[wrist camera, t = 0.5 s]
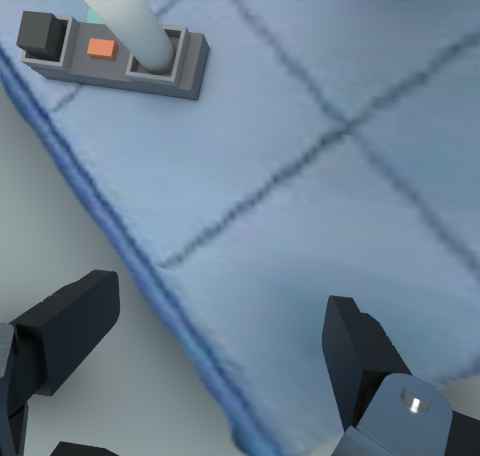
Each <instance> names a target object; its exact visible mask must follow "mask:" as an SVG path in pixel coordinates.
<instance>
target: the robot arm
mask: <svg viewBox="0 0 480 456" xmlns="http://www.w3.org/2000/svg"><path fill="white" fill-rule="evenodd" d="M119 313H120V298H119V281H118V275H117V273H116V272H114V271H105V270H93V271H91V272H90V273H89V274H87V275H86V276H84V277H83V278H81V279H80V280H78V281H76V282H74V283H71V284H69V285H66V286H64V287H62V288H61V289H59V290H58V291H56V292H55V293H53V294H52V296H49V297H47V298H46V299H44V300H43V302H40V303H38V304H37V305H35V306H34V307H32V308H31V309H29V310H28V311H26V312H25V313H23V314H22V315H21V316H19V317H17V318H16V319H14V320H13V321H11V322H10V323H8V324H7V323H0V456H23V455H24V447H25V437H26V429H27V420H28V412H29V406H28V399H29V398H30V397H31V396H32V395H33V394H38V395H45V396H52V395H53V394H54V393H55V392H56V391H57V390H58V389H59V387H60V386H61V385H62V384H63V383H64V382H65V381H66V379H67V378H68V377H69V376H70V375H71V374H72V373H73V371H74V370H75V369H76V368H77V367H78V366H79V365H80V363H81V362H82V361H83V360H84V359H85V358H86V357H87V356H88V354H89V353H90V352H91V351H92V350H93V349H94V348H95V346H96V345H97V344H98V343H99V342H100V341H101V340H102V338H103V337H104V336H105V335H106V334H107V333H108V332H109V331H110V329H111V328H112V327H113V326H114V325H115V323H116V322H117V320H118V317H119ZM322 349H323V353H324V357H325V361H326V365H327V368H328V372H329V376H330V380H331V384H332V387H333V391H334V395H335V399H336V402H337V406H338V410H339V414H340V418H341V421H342V425H343V429H344V435H343V437H342V438H341V440H340V442H339V444H338V445H337V447H336V448H335V450H334V452H333V453H332V455H331V456H480V421H479V420H477V419H474V418H471V417H468V416H466V415H463V414H460V413H458V412H456V411H453V410H452V408H451V406H450V404H449V403H448V401H447V400H446V398H445V397H444V396H443V395H442V394H441V393H440V392H439V391H438V390H437V389H435V388H434V387H433V386H431V385H430V384H428V383H427V382H425V381H423V380H421V379H419V378H417V377H414V376H413V375H412V374H411V372H410V371H409V369H408V368H407V366H406V364H405V363H404V361H403V360H402V358H401V356H400V355H399V353H398V352H397V350H396V349H395V347H394V345H392V342H391V341H390V339H389V337H388V336H386V333H385V331H384V330H383V328H382V326H381V325H380V323H379V322H377V321H376V320H375V319H374V318H373V317H371V316H370V315H369V314H368V313H361V312H360V310H359V308H358V307H357V305H356V303H355V301H354V300H353V298H350V297H341V296H332V295H331V296H330V297H329V299H328V303H327V309H326V315H325V321H324V326H323V332H322ZM50 456H119V455H117V454H115V453H113V452H111V451H109V450H107V449H105V448H99V447H93V446H87V445H80V444H74V443H68V442H62V441H61V442H59V444H58V445H57V447H56V448H55V449H54V451H53V452H52V454H51V455H50Z"/></svg>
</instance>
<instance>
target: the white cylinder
mask: <svg viewBox="0 0 480 456" xmlns="http://www.w3.org/2000/svg"><path fill="white" fill-rule="evenodd" d="M84 1H85V2H86V3H87V4H88V5H89V6H90V8H91V9H92V10H93V11H94V12H95V13H96V14H97V15H98V17H99V18H100V19H101V20H102V21H103V22H104V23H105V24H106V26H107V27H108V28H109V29H110V30H111V31H112V32H113V33H114V35H115V36H116V37H117V38H118V39H119V40H120V41H121V42H122V44H123V45H124V46H125V47H126V48H127V49H128V50H129V51H130V53H131V54H132V55H133V56H134V57H135V58H136V59H137V60H138V62H139V63H140V64H141V65H142V66H143V67H144V68H145V69H146V71H147V72H148V73H150V74H152V75H160V76H161V75H164V74H166V73H168V72H169V71H170V70H171V69H172V68H173V66H174V62H175V57H176V53H177V51H176V48H175V46H174V45H173V43H172V41H171V40H170V38H169V37H168V35H167V33H166V32H165V30H164V29H163V27H162V25H161V24H160V22H159V21H158V19H157V18H156V16H155V14H154V13H153V11H152V10H151V8H150V6H149V5H148V3H147V2H146V0H84Z"/></svg>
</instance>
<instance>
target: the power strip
mask: <svg viewBox="0 0 480 456" xmlns="http://www.w3.org/2000/svg"><path fill="white" fill-rule="evenodd" d="M162 27H163V29H164V30H165V32H166V33H167V35H168V37H169V38H170V40H171V41H172V43H173V45H174V46H175V48H176V51H177V53H176V57H175V62H174V66H173V68H172V69H171V70H170V71H169V72H168V73H166V74H164V75H161V76H160V75H152V74H150V73H148V72H147V71H146V69H145V68H144V67H143V66H142V65H141V64H140V63H139V62H138V60H137V59H136V58H135V57H134V56H133V55H132V54H131V53H130V51H129V50H128V49H127V48H126V47H125V46H124V45H123V44H122V42H121V41H120V40H119V39H118V38H117V37H116V36H115V35H114V33H113V32H112V31H111V30H110V29H109V28H108V27H107V26H106V24H96V23H85V22H78V21H77V20H76V19H75V18H74V17H72V16H61V15H53V14H52V13H42V12H31V11H23V16H22V20H21V25H20V30H19V34H18V39H17V44H16V45H17V46H19V47H20V48H21V49H23V54H22V59H21V62H23V63H25V64H26V65H28V66H29V67H31V69H33V70H34V71H36V72H38V73H39V74H41V75H42V76H44V77H45V78H49V79H56V80H63V81H70V82H77V83H83V84H90V85H97V86H104V87H111V88H118V89H125V90H132V91H139V92H146V93H153V94H160V95H166V96H173V97H180V98H187V99H194V100H198V95H199V91H200V86H201V82H202V77H203V73H204V68H205V64H206V60H207V55H208V51H209V46H208V43H207V41H206V39H205V37H204V35H203V34H201V33H190V32H189V31H188V29H187V27H181V26H170V25H162Z"/></svg>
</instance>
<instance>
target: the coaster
mask: <svg viewBox="0 0 480 456" xmlns="http://www.w3.org/2000/svg"><path fill="white" fill-rule="evenodd" d="M86 23H96V24H105V23H104V22H103V21H102V20H101V19H100V18H99V17H98V15H97V14H96V13H95V12H94V11H93V10H92V9H91V8H90V6H89V9H88V14H87V18H86Z"/></svg>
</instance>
